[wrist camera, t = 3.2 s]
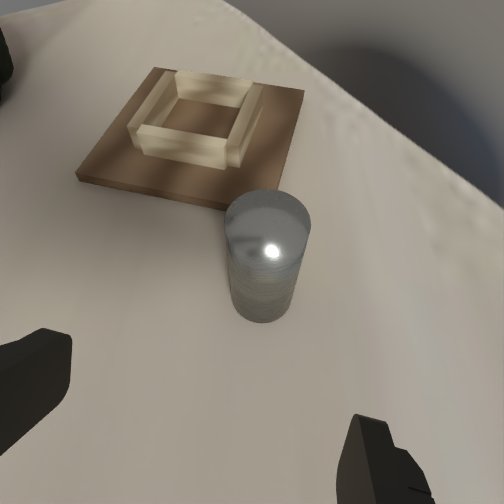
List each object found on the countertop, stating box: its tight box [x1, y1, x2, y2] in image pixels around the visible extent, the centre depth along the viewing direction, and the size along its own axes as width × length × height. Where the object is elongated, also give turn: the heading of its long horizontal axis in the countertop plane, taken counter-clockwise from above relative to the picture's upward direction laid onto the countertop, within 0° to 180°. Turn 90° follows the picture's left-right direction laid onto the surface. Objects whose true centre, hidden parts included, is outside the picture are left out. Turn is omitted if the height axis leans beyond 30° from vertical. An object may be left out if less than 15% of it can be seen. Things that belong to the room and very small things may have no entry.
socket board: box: [75, 67, 304, 211], centre depth 33 cm, size 18×18×4 cm
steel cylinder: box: [224, 189, 311, 323], centre depth 21 cm, size 4×4×9 cm
